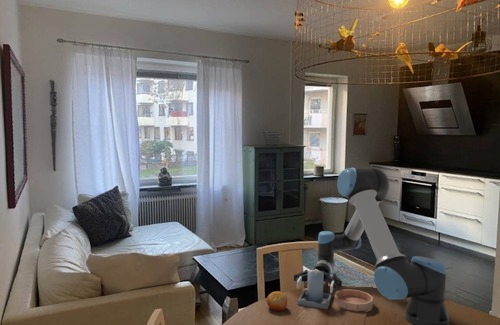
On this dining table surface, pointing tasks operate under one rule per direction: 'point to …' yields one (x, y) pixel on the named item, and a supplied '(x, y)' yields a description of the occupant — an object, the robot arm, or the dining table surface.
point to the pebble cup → (315, 286)
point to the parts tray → (323, 304)
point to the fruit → (277, 301)
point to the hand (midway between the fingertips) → (313, 287)
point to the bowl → (353, 300)
